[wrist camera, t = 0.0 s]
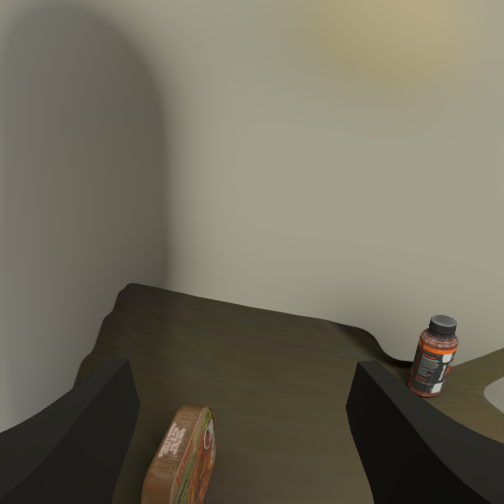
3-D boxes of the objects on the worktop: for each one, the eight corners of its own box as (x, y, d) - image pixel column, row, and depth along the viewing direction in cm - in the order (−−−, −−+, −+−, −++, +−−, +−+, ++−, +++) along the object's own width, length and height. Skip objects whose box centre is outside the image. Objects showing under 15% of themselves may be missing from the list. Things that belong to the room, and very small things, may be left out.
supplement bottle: (444, 400, 36) (467, 331, 33) (406, 397, 38) (426, 327, 35) (439, 378, 41) (458, 313, 38) (405, 375, 43) (422, 309, 41)
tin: (186, 555, 16) (170, 515, 14) (151, 546, 17) (126, 502, 15) (220, 445, 31) (217, 390, 29) (193, 441, 31) (186, 385, 29)
